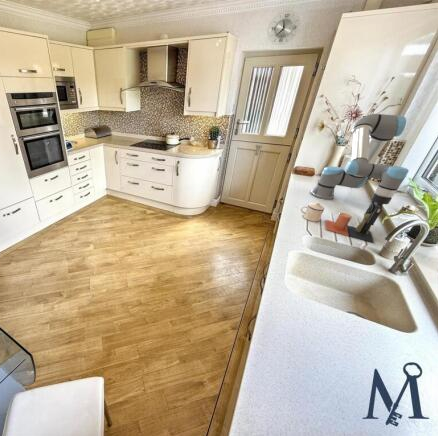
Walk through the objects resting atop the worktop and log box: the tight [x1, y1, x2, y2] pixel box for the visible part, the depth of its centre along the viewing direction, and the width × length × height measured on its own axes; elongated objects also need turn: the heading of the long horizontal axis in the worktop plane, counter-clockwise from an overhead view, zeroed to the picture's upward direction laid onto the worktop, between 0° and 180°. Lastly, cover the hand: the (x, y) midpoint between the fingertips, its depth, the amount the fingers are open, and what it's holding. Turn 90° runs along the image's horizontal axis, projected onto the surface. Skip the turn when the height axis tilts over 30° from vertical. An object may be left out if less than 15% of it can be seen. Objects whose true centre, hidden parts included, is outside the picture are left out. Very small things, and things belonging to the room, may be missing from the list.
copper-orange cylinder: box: [333, 212, 352, 230], centre depth 142 cm, size 6×6×9 cm
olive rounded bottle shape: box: [355, 213, 372, 234], centre depth 135 cm, size 6×6×11 cm
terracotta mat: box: [325, 219, 350, 237], centre depth 145 cm, size 14×11×1 cm
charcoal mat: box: [347, 225, 374, 244], centre depth 139 cm, size 14×11×1 cm
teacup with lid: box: [300, 201, 325, 223], centre depth 152 cm, size 12×9×12 cm
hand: (361, 230), depth 138 cm, fingers closed on olive rounded bottle shape, 6 cm apart
